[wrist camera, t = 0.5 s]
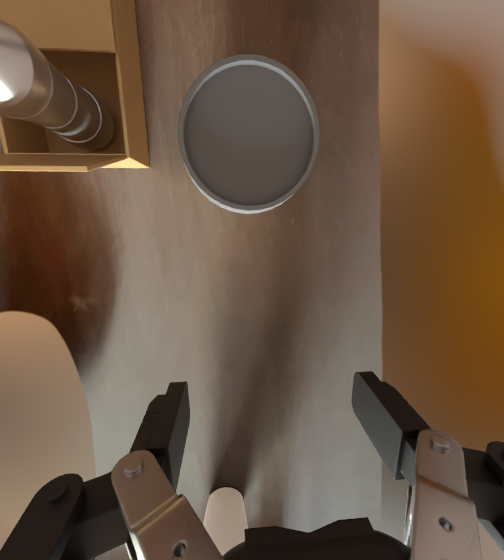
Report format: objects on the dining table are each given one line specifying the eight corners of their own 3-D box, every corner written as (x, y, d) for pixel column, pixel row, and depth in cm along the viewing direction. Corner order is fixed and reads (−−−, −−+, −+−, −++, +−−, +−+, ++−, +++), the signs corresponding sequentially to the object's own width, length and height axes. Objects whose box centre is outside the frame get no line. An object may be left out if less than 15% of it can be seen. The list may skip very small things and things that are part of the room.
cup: (253, 511, 53) (259, 594, 42) (208, 521, 53) (202, 608, 42) (243, 476, 51) (246, 555, 39) (196, 487, 51) (186, 570, 39)
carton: (149, 168, 36) (127, 156, 29) (50, 167, 36) (-2, 155, 28) (134, -4, 32) (101, -74, 24) (19, -10, 31) (-54, -85, 23)
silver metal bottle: (73, 86, 33) (-147, -85, 14) (128, 113, 34) (-6, -11, 15) (59, 138, 34) (-159, 48, 15) (112, 162, 36) (-29, 107, 16)
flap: (126, 154, 29) (127, 158, 29) (-1, 153, 28) (1, 157, 28) (86, 165, 21) (87, 171, 21) (-95, 164, 20) (-92, 170, 20)
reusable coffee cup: (292, 205, 39) (327, 203, 25) (206, 218, 39) (190, 223, 24) (282, 108, 36) (317, 40, 21) (188, 121, 35) (158, 60, 21)
